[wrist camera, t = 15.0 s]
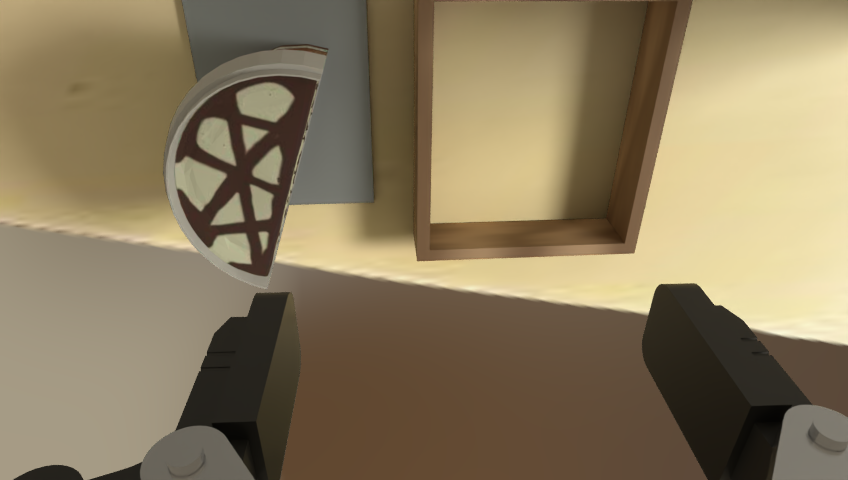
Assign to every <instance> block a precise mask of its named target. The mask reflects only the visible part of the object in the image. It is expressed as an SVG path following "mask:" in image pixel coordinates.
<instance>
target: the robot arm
mask: <svg viewBox="0 0 848 480" xmlns="http://www.w3.org/2000/svg"><path fill="white" fill-rule="evenodd" d="M642 352H643V358H644V361H645V364H646V366H647V368H648V370H649V372H650V374H651V375H652V377H653V379H654V381H655V383H656V385H657V387H658V389H659V390H660V392H661V394H662V396H663V398H664V399H665V401H666V403H667V405H668V407H669V409H670V411H671V412H672V414H673V416H674V418H675V420H676V422H677V424H678V425H679V427H680V429H681V431H682V433H683V435H684V437H685V438H686V440H687V442H688V444H689V446H690V448H691V450H692V451H693V453H694V455H695V457H696V459H697V461H698V463H699V464H700V466H701V468H702V470H703V472H704V474H705V475H706V477H707V479H708V480H848V417H846V416H844V415H842V414H840V413H838V412H836V411H833V410H831V409H827V408H824V407H820V406H815V405H812V404H811V402H810V401H809V400H808V399H807V397H806V396H805V395H804V394H803V393H802V391H800V389H799V388H798V387H797V385H796V384H795V383H794V382H793V381H792V379H791V378H790V377H789V376H788V374H787V373H786V372H785V371H784V370H783V368H782V367H781V366H780V365H779V363H778V362H777V361H776V360H775V359H774V357H773V356H772V355H769V351H768V350H767V349H766V348H765V346H764V345H763V344H762V343H761V342H760V341H757V337H756V336H755V334H754V333H753V332H752V331H751V330H750V328H749V327H748V326H747V325H746V323H745V322H744V321H743V320H742V319H740V318H739V317H737V316H736V315H734V314H733V313H732V312H730V311H729V310H727V309H726V308H724V307H723V306H721V305H719V306H715V305H714V304H713V303H712V302H711V300H710V299H709V298H708V296H707V295H706V294H705V293H704V291H703V290H702V289H701V288H700V287H699V286H698V285H697V284H695V283H690V284H661V285H659V286H658V287H657V288H656V290H655V293H654V296H653V300H652V304H651V308H650V312H649V315H648V320H647V323H646V327H645V331H644V334H643V340H642ZM300 365H301V351H300V342H299V334H298V327H297V320H296V312H295V306H294V299H293V295H292V293H291V292H281V293H256V294H255V296H254V299H253V301H252V304H251V307H250V310H249V313H248V316H247V317H231V318H229V319H228V320H227V321H226V323H224V325H222V326H221V327H220V329H219V330H217V331H216V332H215V333H214V336H213V338H212V341H211V343H210V346H209V348H208V351H207V356H205V358H204V361H203V363H202V366H201V371H199V373H198V376H197V378H196V381H195V383H194V386H193V388H192V391H191V393H190V396H189V398H188V401H187V403H186V406H185V408H184V411H183V413H182V416H181V418H180V421H179V423H178V426H177V428H176V430H175V431H174V432H172V433H170V434H168V435H167V436H165V437H163V438H162V439H161V440H159V441H158V442H157V443H156V444H155V445H154V446H153V447H152V448H151V449H150V450H149V451H148V453H147V454H146V456H145V457H144V459H143V462H141V463H139V464H137V465H134V466H132V467H129V468H126V469H123V470H120V471H117V472H114V473H110V474H107V475H103V476H100V477H97V478H93V479H90V480H280V477H281V471H282V466H283V461H284V455H285V450H286V445H287V439H288V434H289V428H290V423H291V418H292V412H293V408H294V402H295V397H296V392H297V386H298V381H299V376H300ZM14 480H83V478H82V476H81V475H80V473H79V472H78V471H77V470H75V469H74V468H71V467H68V466H63V465H51V466H44V467H41V468H37V469H34V470H32V471H29V472H27V473H25V474H23V475H21V476H19V477H17V478H15V479H14Z"/></svg>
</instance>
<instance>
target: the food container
mask: <svg viewBox="0 0 848 480" xmlns="http://www.w3.org/2000/svg"><path fill="white" fill-rule="evenodd" d="M328 50H329V49H328V48H323V47H319V46H315V45H310V44H301V45H282V46H279V47H277V48H274V49H272V50H269V51H260V52H256V53H252V54H248V55H244V56H240V57H237V58H235V59H233V60H231V61H228V62H226V63H224V64H222V65H220V66H218V67H217V68H215V69H214V70H212V71H211V72H209V73H208V74H206V75H205V76H203V77H202V78H201V79H200V80H199V81H198V82H197V83H196V84H195V85H194V86H193V87H192V88H191V89H190V90H189V91H188V93H187V94H186V96H185V97H184V99H183V100H182V102H181V103H180V105H179V106H178V108H177V110H176V113H175V115H174V117H173V119H172V122H171V124H170V128H169V133H168V137H167V142H166V147H165V152H164V169H163V174H164V181H165V188H166V193H167V196H168V199H169V202H170V206H171V209H172V211H173V214H174V216H175V218H176V220H177V222H178V224H179V226H180V228H181V230H182V231H183V233H184V234H185V235H186V237H187V238H188V240H189V241H190V242H191V244H192V245H193V246H194V247H195V248H196V249H197V250H198V251H199V252H200V253H201V254H202V255H203V256H204V257H205V258H206V259H207V260H208V261H210V262H211V263H212V264H214V265H215V266H216V267H217V268H219V269H220V270H222V271H224V272H225V273H227V274H229V275H230V276H233V277H234V278H236V279H238V280H241V281H243V282H245V283H248V284H250V285H253V286H257V287H260V288H263V289H267V288H268V285H269V281H270V277H271V273H272V269H273V265H274V261H275V258H276V254H277V250H278V246H279V242H280V238H281V234H282V231H283V227H284V223H285V219H286V215H287V211H288V207H289V203H290V200H291V196H292V192H293V188H294V184H295V180H296V176H297V172H298V168H299V164H300V160H301V156H302V152H303V149H304V145H305V141H306V137H307V133H308V129H309V125H310V121H311V117H312V113H313V109H314V105H315V101H316V97H317V93H318V89H319V85H320V81H321V77H322V74H323V70H324V66H325V62H326V58H327V54H328Z"/></svg>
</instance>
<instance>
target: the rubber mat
mask: <svg viewBox="0 0 848 480" xmlns="http://www.w3.org/2000/svg"><path fill="white" fill-rule="evenodd" d="M182 4H183V10H184V15H185V20H186V25H187V31H188V36H189V41H190V46H191V52H192V57H193V62H194V67H195V73H196V78H197V82H198V81H199V80H200V79H201V78H202V77H203V76H205V75H206V74H208V73H209V72H211V71H212V70H214V69H215V68H217V67H218V66H220V65H222V64H224V63H226V62H228V61H231V60H233V59H235V58H237V57H240V56H244V55H248V54H252V53H256V52H260V51H269V50H272V49H274V48H277V47H279V46H282V45H301V44H310V45H315V46H319V47H323V48H328V49H329V50H328V54H327V58H326V62H325V66H324V70H323V74H322V77H321V81H320V85H319V89H318V93H317V97H316V101H315V105H314V109H313V113H312V117H311V121H310V125H309V129H308V133H307V137H306V141H305V145H304V149H303V152H302V156H301V160H300V164H299V168H298V172H297V176H296V180H295V184H294V188H293V192H292V196H291V200H290V203H289V205H301V204H336V203H372V202H374V192H373V166H372V140H371V113H370V87H369V61H368V35H367V9H366V0H182Z"/></svg>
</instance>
